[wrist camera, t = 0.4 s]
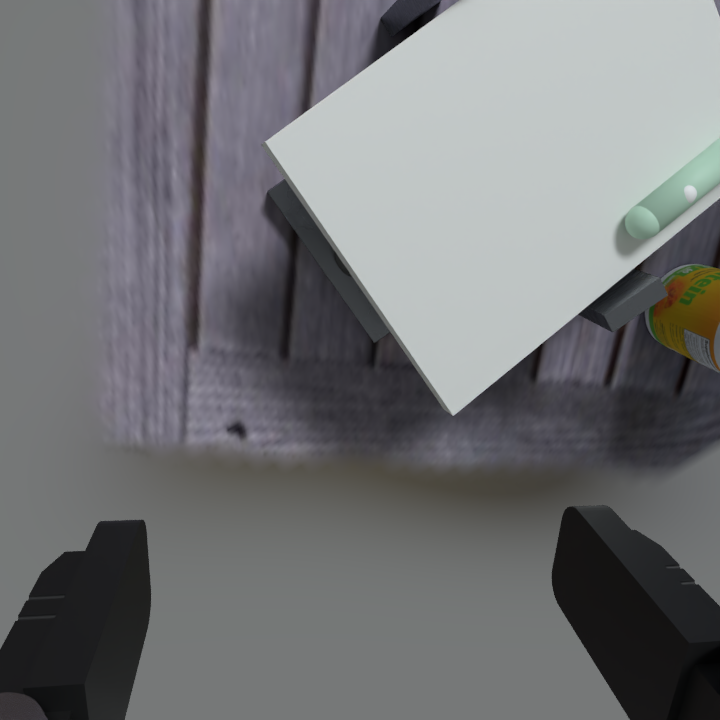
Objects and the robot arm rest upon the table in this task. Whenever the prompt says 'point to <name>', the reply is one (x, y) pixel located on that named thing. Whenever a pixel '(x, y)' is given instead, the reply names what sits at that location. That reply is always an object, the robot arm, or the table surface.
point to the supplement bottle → (689, 314)
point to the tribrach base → (605, 311)
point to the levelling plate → (511, 170)
